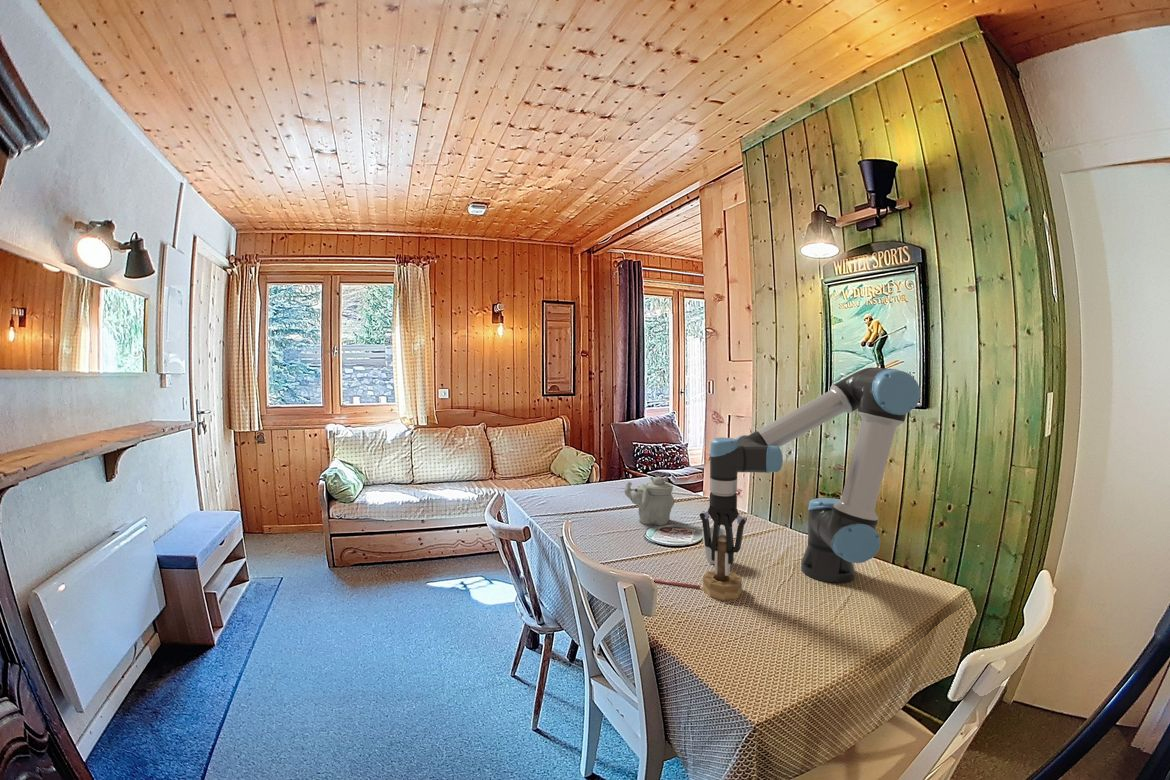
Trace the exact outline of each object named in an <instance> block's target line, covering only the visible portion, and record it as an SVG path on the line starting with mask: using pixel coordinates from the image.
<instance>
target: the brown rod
mask: <svg viewBox="0 0 1170 780" xmlns="http://www.w3.org/2000/svg"><path fill="white" fill-rule="evenodd" d="M717 551H718V569H717V581H721V582H727V577H728V576H725V553H727V552H728V549H727V539H726V536H725V535H720V536H719V537H718V539H717Z"/></svg>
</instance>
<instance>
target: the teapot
mask: <svg viewBox="0 0 1170 780" xmlns="http://www.w3.org/2000/svg"><path fill="white" fill-rule="evenodd" d="M650 480H651V482H647V483H645V484H644V483H640V484H638V485H637V486H636V487H634V488H633V489H632V488H631V486H632V485H633V483H632V482H631V481H628V482H627V483H626V485H625V487H624V491H623V492H624V494H625V496H626V497H627V498H629V500H631V503H632V504H634V505H636V506H637V507H638V517H639V520H638V522H639V524H641V525H644V526H645V525H646V526H647V525H648V526H649V525H656V526H665V525H667V524H668V522H669V521H670V515H671V511H672V508H673V507H674V505H675V498H674V496H673V494H672V493H673V490H674V486H673V484H672V483H671V482H668V477H667V476H665V477H662V476H659V475H658V476H655V477H652V476H651V477H650Z"/></svg>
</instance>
